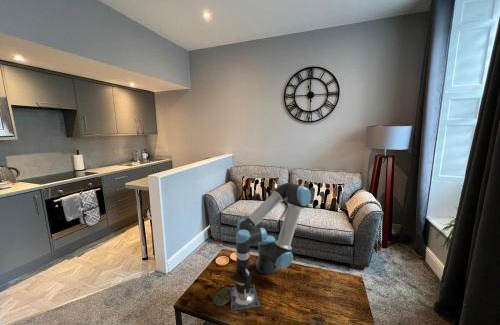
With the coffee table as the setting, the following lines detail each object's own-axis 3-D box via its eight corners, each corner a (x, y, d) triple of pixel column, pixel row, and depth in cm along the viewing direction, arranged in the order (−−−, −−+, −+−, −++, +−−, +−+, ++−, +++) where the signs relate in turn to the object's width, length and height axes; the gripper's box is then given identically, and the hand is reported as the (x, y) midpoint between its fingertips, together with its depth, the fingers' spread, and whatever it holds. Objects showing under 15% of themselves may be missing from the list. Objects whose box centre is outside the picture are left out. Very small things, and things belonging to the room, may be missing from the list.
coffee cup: (254, 291, 128) (254, 269, 125) (247, 304, 119) (246, 280, 117) (240, 286, 132) (239, 265, 130) (231, 298, 124) (231, 275, 121)
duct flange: (254, 285, 135) (254, 283, 135) (259, 306, 120) (259, 304, 120) (229, 289, 133) (229, 286, 132) (231, 311, 117) (231, 308, 117)
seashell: (209, 302, 121) (216, 283, 125) (213, 301, 127) (220, 283, 132) (225, 309, 118) (232, 289, 122) (229, 308, 124) (235, 289, 129)
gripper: (230, 249, 129) (231, 282, 133) (245, 269, 111) (245, 307, 115) (241, 246, 132) (241, 278, 136) (257, 265, 114) (257, 302, 118)
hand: (243, 291), depth 126 cm, fingers closed on coffee cup, 8 cm apart
